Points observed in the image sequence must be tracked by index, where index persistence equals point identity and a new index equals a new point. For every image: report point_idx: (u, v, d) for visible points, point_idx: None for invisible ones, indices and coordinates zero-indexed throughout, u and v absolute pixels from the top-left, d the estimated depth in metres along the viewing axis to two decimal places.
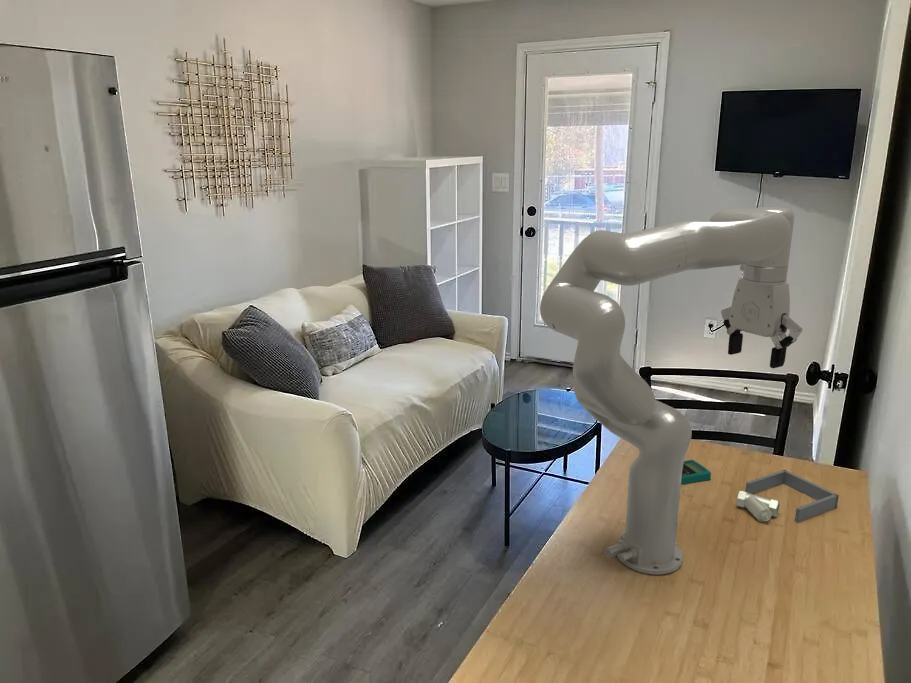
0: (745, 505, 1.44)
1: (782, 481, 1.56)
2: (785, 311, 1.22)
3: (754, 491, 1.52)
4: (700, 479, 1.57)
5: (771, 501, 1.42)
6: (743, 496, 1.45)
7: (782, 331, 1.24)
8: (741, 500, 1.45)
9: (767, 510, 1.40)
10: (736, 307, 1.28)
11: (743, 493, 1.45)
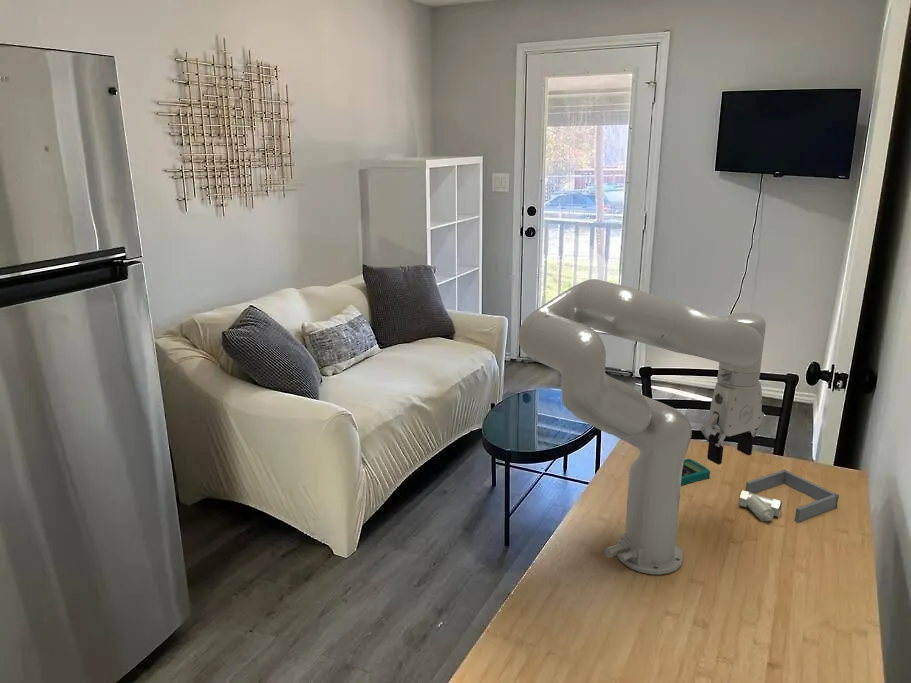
0: (747, 505, 1.44)
1: (782, 481, 1.56)
2: None
3: (754, 491, 1.52)
4: (701, 477, 1.58)
5: (773, 501, 1.42)
6: (745, 496, 1.45)
7: None
8: (743, 500, 1.45)
9: (769, 510, 1.40)
10: (733, 416, 1.28)
11: (745, 493, 1.45)
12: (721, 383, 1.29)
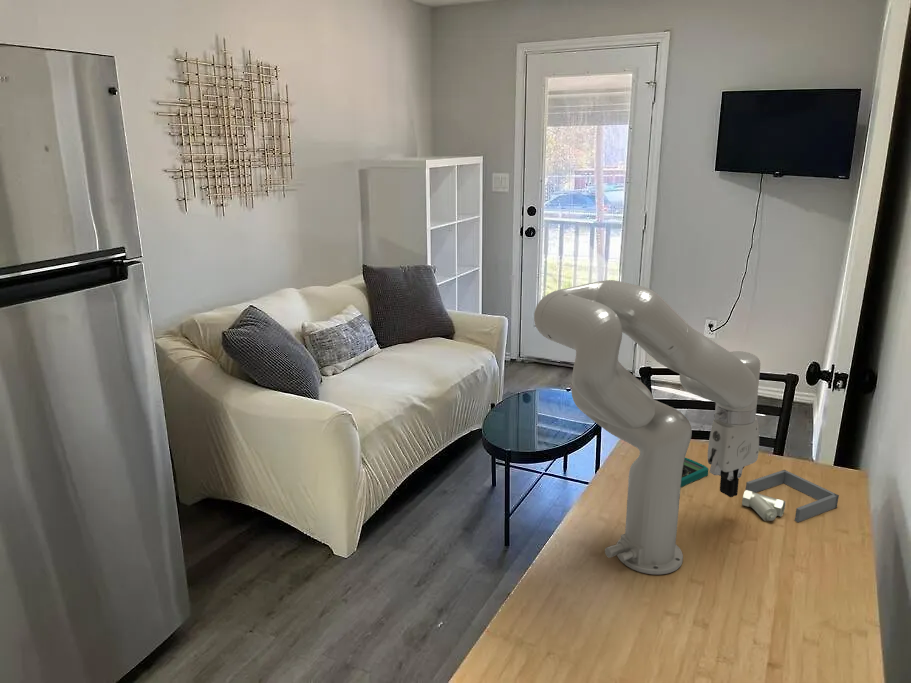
0: (750, 504, 1.45)
1: (782, 481, 1.56)
2: None
3: (754, 491, 1.52)
4: (701, 476, 1.58)
5: (776, 501, 1.42)
6: (748, 495, 1.45)
7: None
8: (746, 499, 1.45)
9: (772, 509, 1.40)
10: (731, 453, 1.30)
11: (749, 492, 1.45)
12: (718, 420, 1.32)
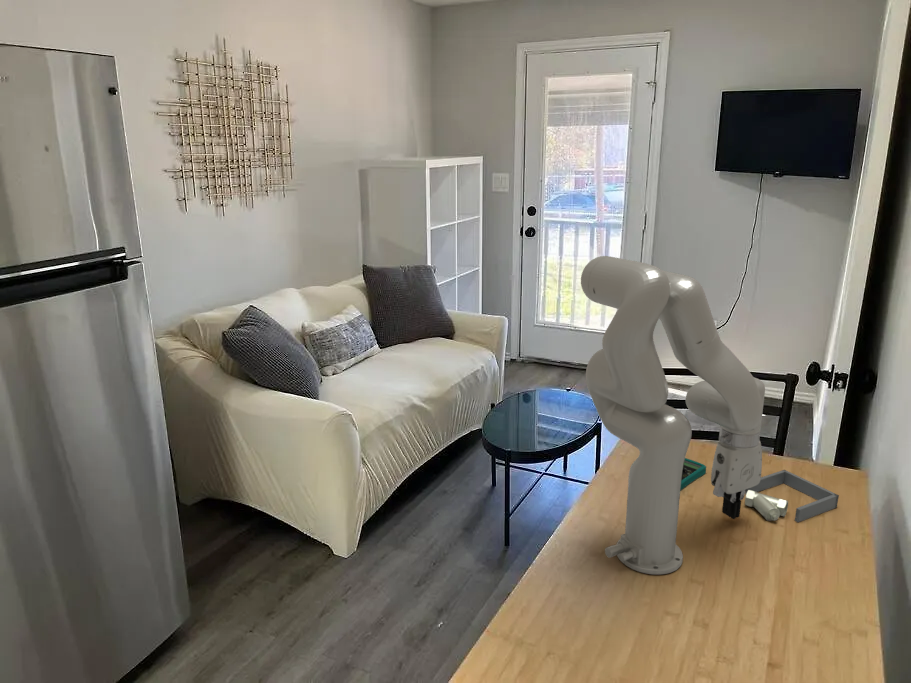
0: (753, 504, 1.45)
1: (782, 481, 1.56)
2: None
3: None
4: (700, 474, 1.59)
5: (779, 500, 1.42)
6: (751, 495, 1.45)
7: None
8: (749, 499, 1.45)
9: (775, 509, 1.40)
10: (734, 475, 1.33)
11: (751, 492, 1.45)
12: (722, 443, 1.34)
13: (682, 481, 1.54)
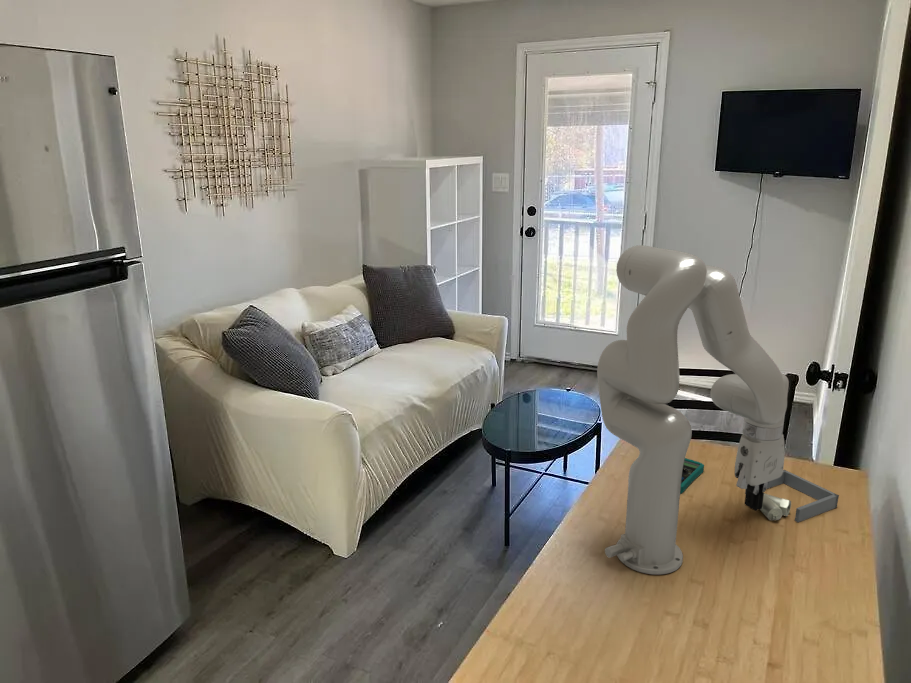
0: None
1: (782, 481, 1.56)
2: None
3: None
4: (699, 473, 1.60)
5: (782, 500, 1.42)
6: None
7: None
8: None
9: (778, 509, 1.40)
10: (758, 467, 1.36)
11: None
12: (746, 436, 1.37)
13: (685, 481, 1.53)
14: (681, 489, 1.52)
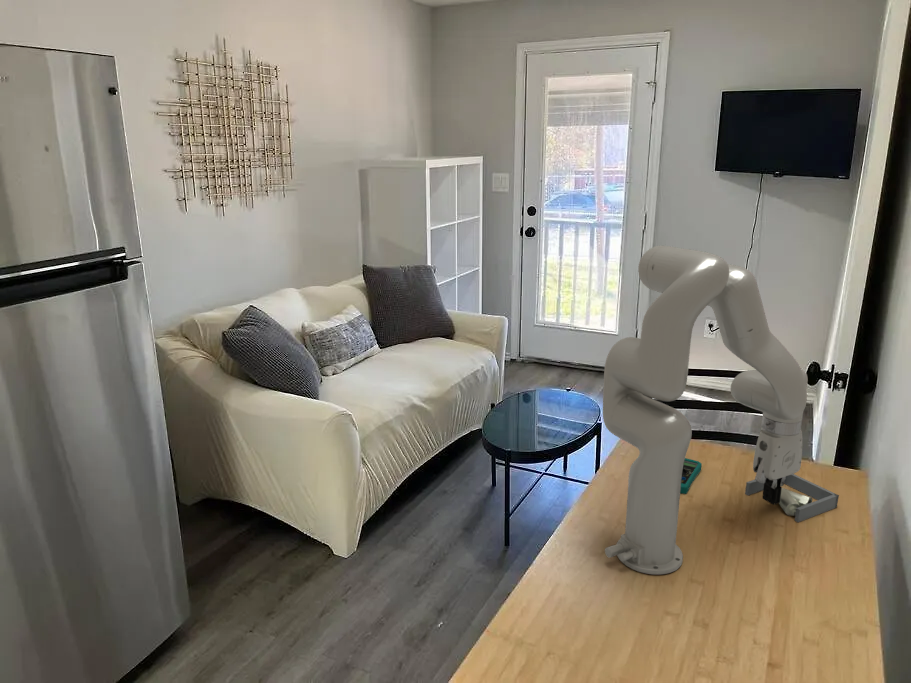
0: None
1: None
2: None
3: (754, 491, 1.52)
4: (698, 472, 1.60)
5: (802, 497, 1.43)
6: None
7: None
8: None
9: (796, 505, 1.42)
10: (777, 462, 1.38)
11: None
12: (765, 431, 1.39)
13: (688, 481, 1.53)
14: (686, 489, 1.52)
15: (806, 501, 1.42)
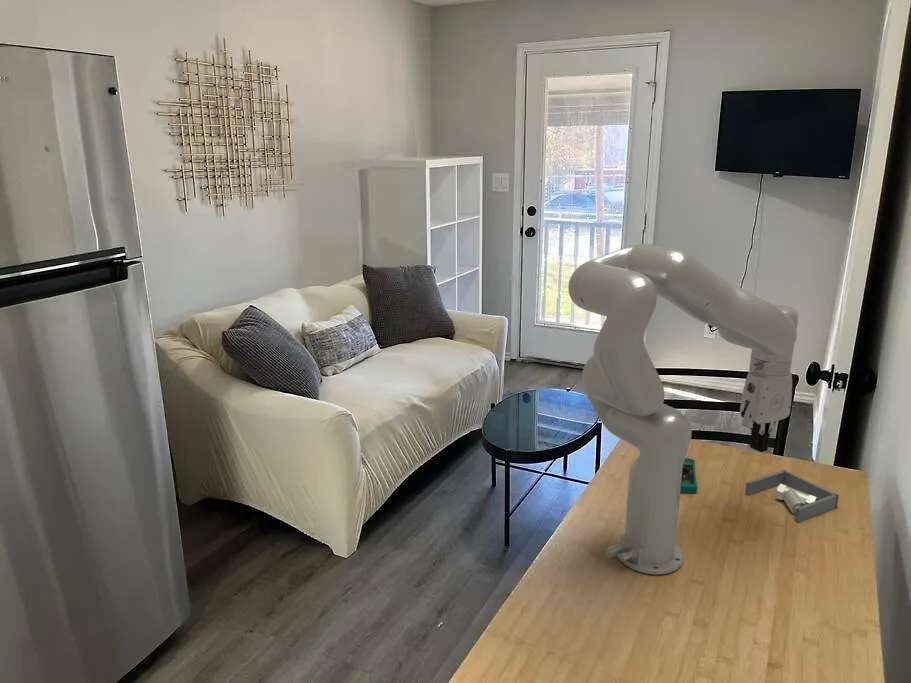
0: (783, 498, 1.47)
1: (782, 481, 1.56)
2: None
3: (754, 491, 1.52)
4: None
5: (809, 496, 1.43)
6: (782, 489, 1.47)
7: None
8: (779, 493, 1.47)
9: (802, 504, 1.42)
10: (765, 404, 1.31)
11: (783, 486, 1.48)
12: (753, 372, 1.33)
13: (695, 480, 1.54)
14: (696, 489, 1.52)
15: (813, 501, 1.42)
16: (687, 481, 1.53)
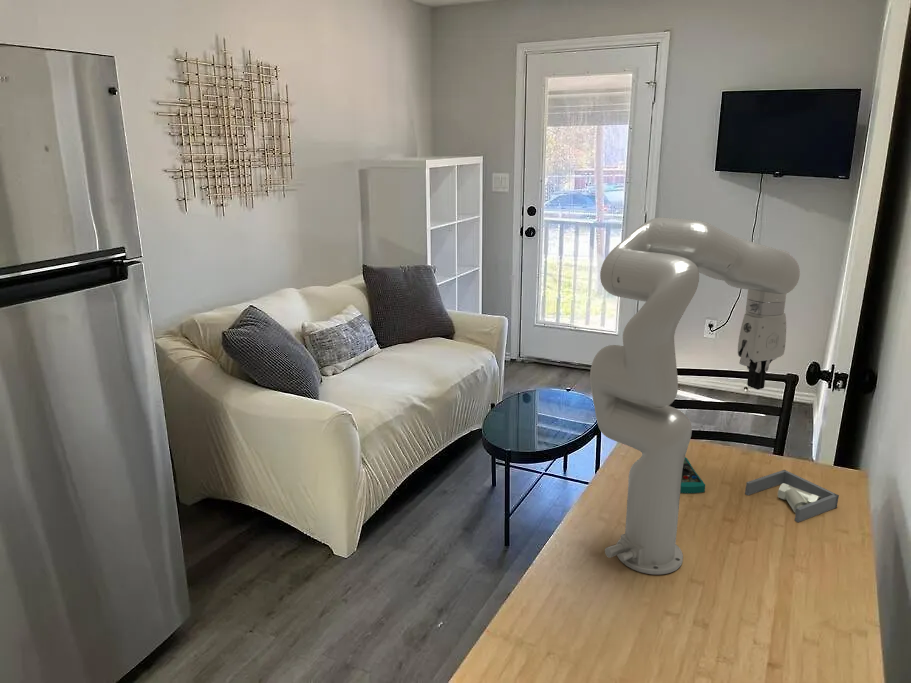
0: (785, 497, 1.47)
1: (782, 481, 1.56)
2: None
3: (754, 491, 1.52)
4: None
5: (811, 496, 1.44)
6: (784, 488, 1.48)
7: None
8: (782, 492, 1.48)
9: (804, 503, 1.42)
10: (761, 342, 1.40)
11: (785, 485, 1.48)
12: (749, 313, 1.41)
13: None
14: (704, 487, 1.52)
15: (815, 500, 1.43)
16: (694, 480, 1.54)
